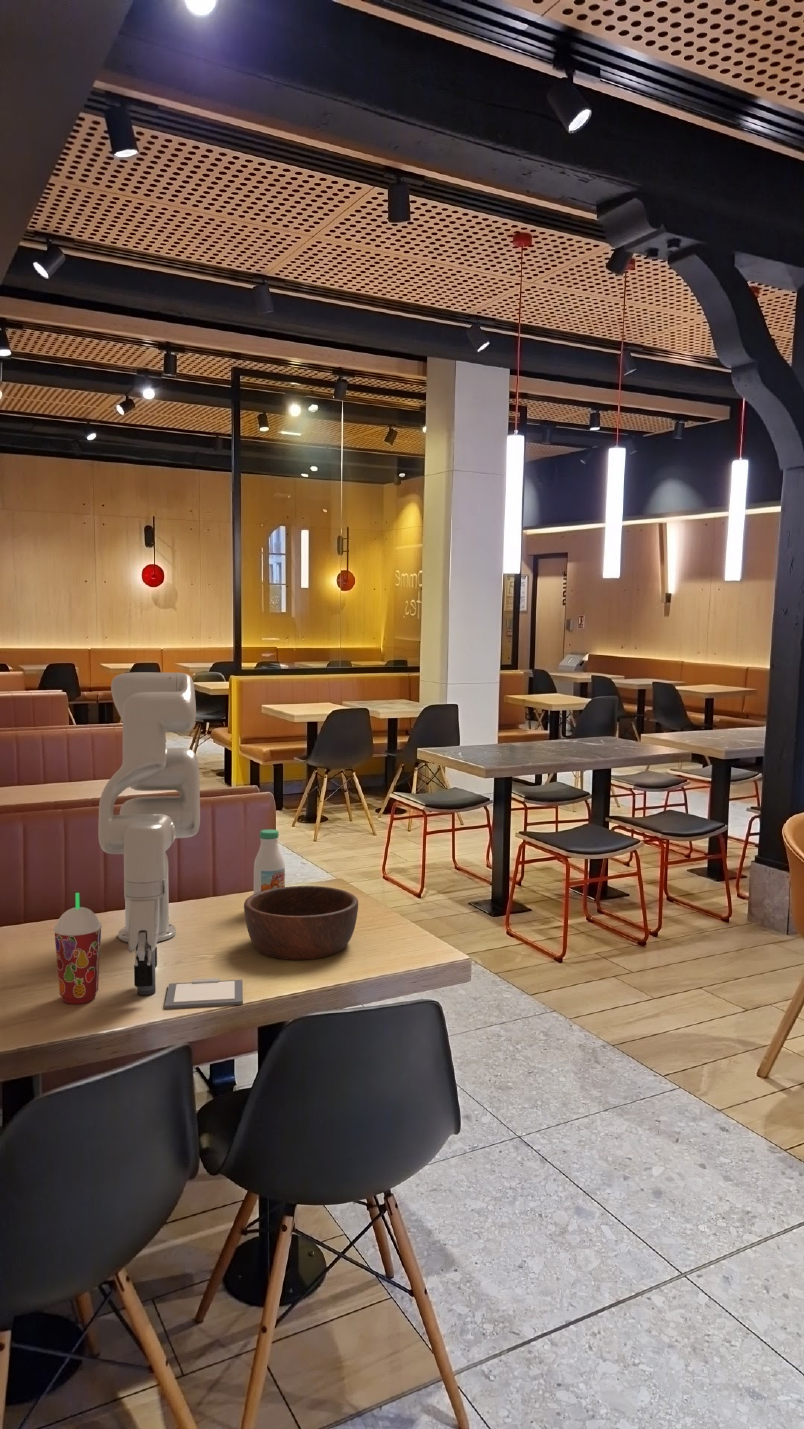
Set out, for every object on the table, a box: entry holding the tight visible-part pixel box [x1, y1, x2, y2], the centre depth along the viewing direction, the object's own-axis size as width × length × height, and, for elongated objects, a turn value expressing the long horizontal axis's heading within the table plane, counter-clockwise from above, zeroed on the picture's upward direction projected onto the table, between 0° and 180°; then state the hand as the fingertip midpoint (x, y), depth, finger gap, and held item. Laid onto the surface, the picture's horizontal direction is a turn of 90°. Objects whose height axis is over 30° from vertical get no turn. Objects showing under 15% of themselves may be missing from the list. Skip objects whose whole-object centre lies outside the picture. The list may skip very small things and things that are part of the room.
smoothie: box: [53, 892, 103, 1005], centre depth 170 cm, size 8×8×20 cm
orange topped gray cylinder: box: [136, 937, 156, 997], centre depth 173 cm, size 4×4×11 cm
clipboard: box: [164, 977, 244, 1010], centre depth 172 cm, size 11×14×1 cm
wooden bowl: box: [243, 885, 359, 961], centre depth 201 cm, size 25×25×10 cm
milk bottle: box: [253, 829, 286, 894], centre depth 227 cm, size 8×8×20 cm
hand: (146, 976), depth 173 cm, fingers open, 9 cm apart
